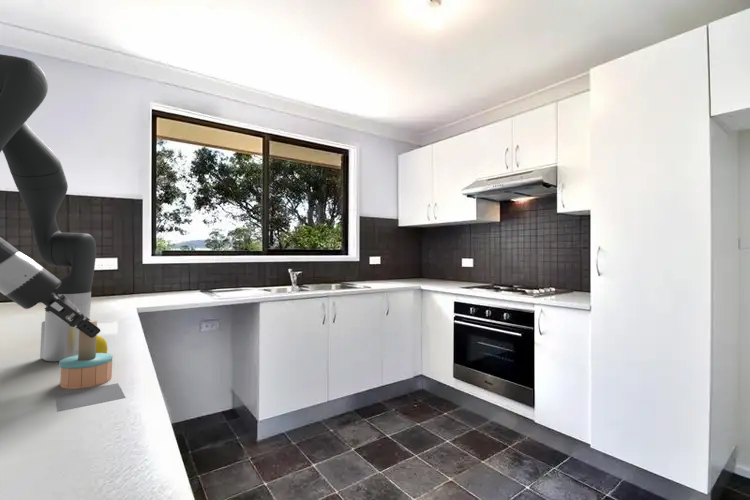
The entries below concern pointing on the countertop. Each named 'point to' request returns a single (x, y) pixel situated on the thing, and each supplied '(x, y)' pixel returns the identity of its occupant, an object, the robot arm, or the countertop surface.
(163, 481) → the countertop surface
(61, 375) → the bowl
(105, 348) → the lemon
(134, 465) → the countertop surface
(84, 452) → the countertop surface
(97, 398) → the mat
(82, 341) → the lid
